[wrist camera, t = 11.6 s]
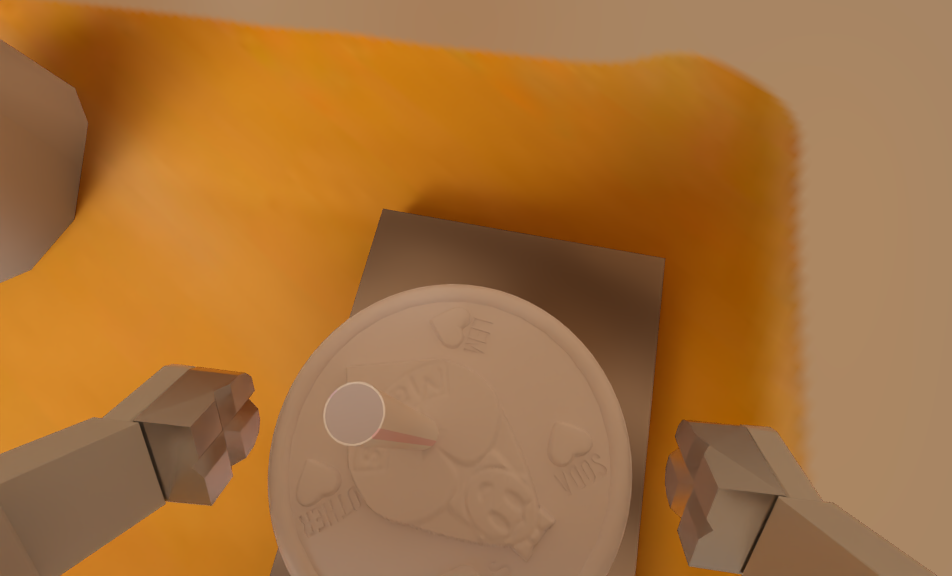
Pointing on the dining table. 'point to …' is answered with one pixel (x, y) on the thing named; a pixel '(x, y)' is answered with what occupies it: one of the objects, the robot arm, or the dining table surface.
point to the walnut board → (550, 288)
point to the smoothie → (450, 445)
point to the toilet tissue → (36, 160)
